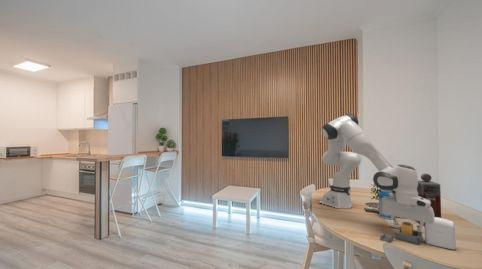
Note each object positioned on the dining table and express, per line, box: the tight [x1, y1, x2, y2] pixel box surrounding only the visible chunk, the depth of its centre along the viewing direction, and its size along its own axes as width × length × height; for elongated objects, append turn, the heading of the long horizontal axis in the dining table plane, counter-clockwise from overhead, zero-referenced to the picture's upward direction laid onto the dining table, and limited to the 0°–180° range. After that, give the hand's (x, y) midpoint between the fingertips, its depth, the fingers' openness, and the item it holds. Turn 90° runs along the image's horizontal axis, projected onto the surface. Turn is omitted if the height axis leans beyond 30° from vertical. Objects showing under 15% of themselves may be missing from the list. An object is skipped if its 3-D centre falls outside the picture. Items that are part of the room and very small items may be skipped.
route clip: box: [380, 232, 394, 244], centre depth 105 cm, size 4×5×2 cm
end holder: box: [394, 226, 424, 246], centre depth 106 cm, size 9×10×3 cm
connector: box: [400, 221, 414, 236], centre depth 106 cm, size 4×4×7 cm
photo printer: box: [424, 217, 457, 251], centre depth 99 cm, size 10×4×12 cm, turn 47°
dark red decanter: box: [415, 173, 442, 227], centre depth 124 cm, size 9×11×28 cm
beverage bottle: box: [378, 189, 396, 220], centre depth 135 cm, size 8×8×20 cm
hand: (407, 227), depth 107 cm, fingers open, 8 cm apart
